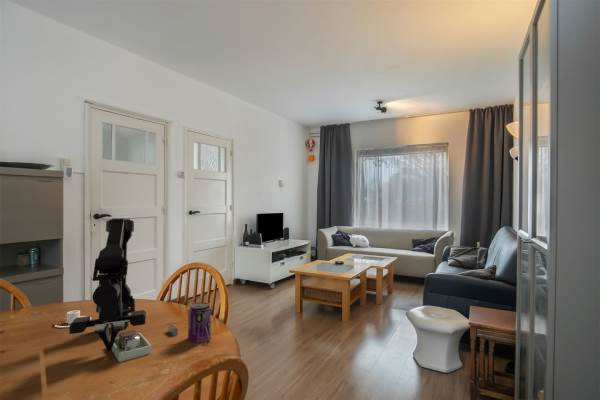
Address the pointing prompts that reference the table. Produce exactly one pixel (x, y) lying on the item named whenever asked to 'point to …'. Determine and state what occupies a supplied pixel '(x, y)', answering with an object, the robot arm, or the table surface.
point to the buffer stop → (173, 330)
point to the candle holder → (72, 317)
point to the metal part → (132, 342)
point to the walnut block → (122, 337)
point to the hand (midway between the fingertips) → (109, 350)
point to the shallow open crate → (123, 356)
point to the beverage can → (199, 322)
